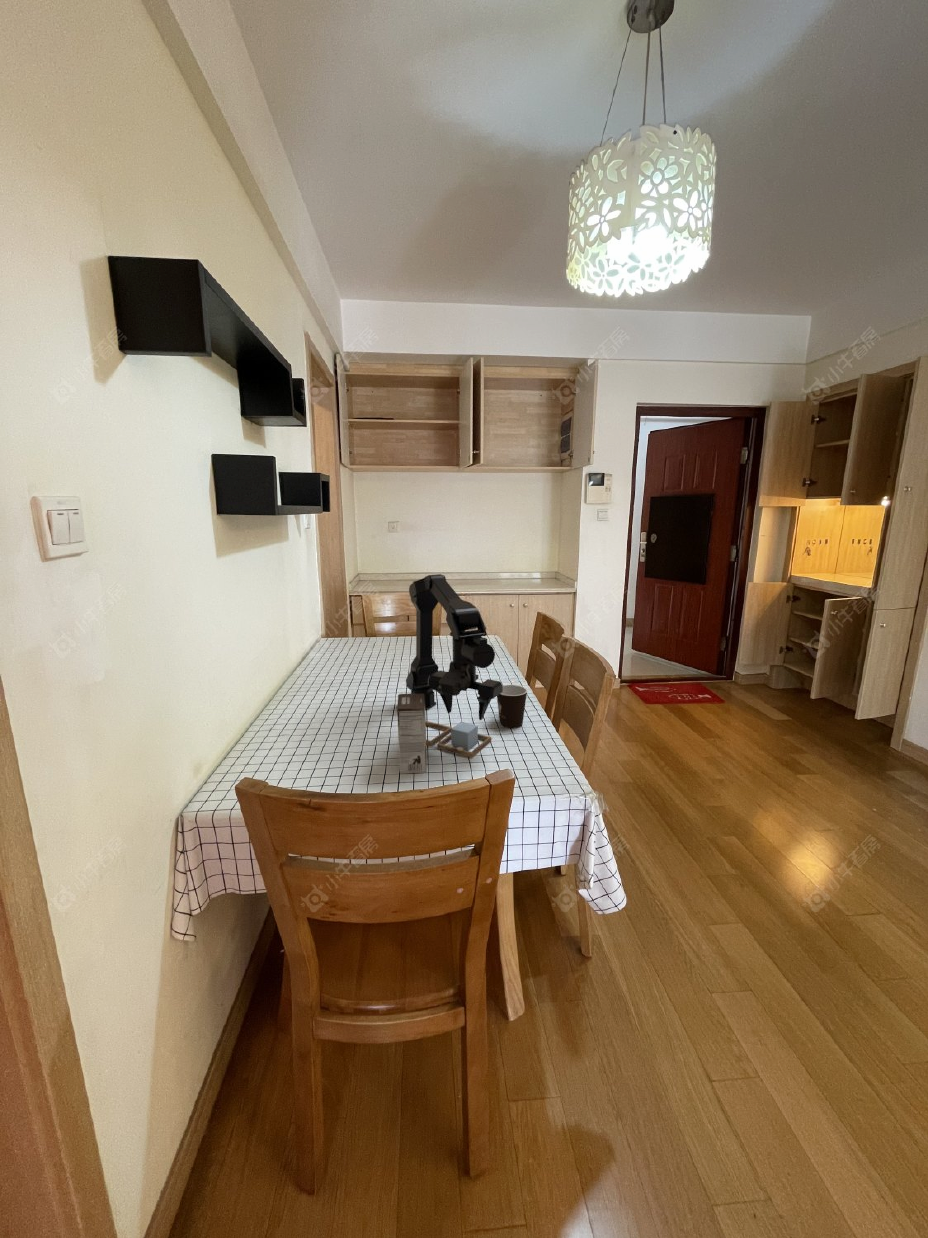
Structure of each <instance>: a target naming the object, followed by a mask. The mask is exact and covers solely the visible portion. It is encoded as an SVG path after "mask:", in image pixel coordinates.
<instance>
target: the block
mask: <svg viewBox="0 0 928 1238" xmlns="http://www.w3.org/2000/svg"><path fill="white" fill-rule="evenodd" d="M450 734H451V740H450V742H451V743H450V744H452V745H453V747H455V748H458V747H463V750H466V751H469V752H470V750H472V749H473V748H474V747H476V746H477V744H479V739H478V734H479V725H477V724H473V723H469V722H465V721H460V722H459V723H457V724H456V725H454V726H452V728H451V733H450Z"/></svg>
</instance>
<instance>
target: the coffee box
mask: <svg viewBox="0 0 928 1238" xmlns="http://www.w3.org/2000/svg"><path fill="white" fill-rule="evenodd" d="M396 707H397V708H396V711H397V734H398V735H397V739H398V741H397V742H398V763H399V773H400V774H417V773H419V774H420V773H421V774H422V773H427V745H426V740H427V726H426V721H427V720H426V718H427V717H426V710H425V696H424V694H411V693H398V695H397V706H396Z"/></svg>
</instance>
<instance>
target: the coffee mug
mask: <svg viewBox="0 0 928 1238" xmlns="http://www.w3.org/2000/svg"><path fill="white" fill-rule="evenodd" d="M502 685H503V692H502V693H500V694H499V695H498V696H496V700H497V701H496V702H497V709H498V719H499V725H500V726H501V727H502V728H505V729H506V728H507V729H518V728H521V727H522V726H523V722H524V716H525V708H526V701H527V694H528V689H527V688H526V687H524V686H522V685H516V684H505V685H504V684H502Z"/></svg>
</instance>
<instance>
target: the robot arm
mask: <svg viewBox="0 0 928 1238" xmlns="http://www.w3.org/2000/svg"><path fill="white" fill-rule="evenodd" d="M408 587H409V588H408V593H409V597H410V601H411V603H412V605H413V607H414V608H415V609H416V611H415V613H416V615H415V616H416V617H415V619H416V620H415V621H416V622H415V625H416V632H415V637H416V639H415V641H416V645H415V654H416V655H415V657H414V659H413V660H412V662H411V664H410V671H409V673H408V675H407V677H406V679H405V684H406V688H407V689H409V690H410V694H424V696H425V711H427V710H429V709H430V708H432V707H434V706H435V705H437V701H435V692H437V693H438V694H439V695H440V698H441V699H442V702H443V705H444V707H445V709H446V712H447V713H448V714H451V712H452V708H453V699H454V698H453V697H456V696H459V695H460V693H461V692H462V691H463V692H466V691H468V689H470V690H474V691H477V695H478V696H477V697H476V699H477V701H478V720H479V721H482V720H483V719H484V716H485V714H486V712H487V709H488V707H489V705H490V702H491V701H492V700H494V699H495V698H497V696H498V695H499V694H500V693H502V692H503V685H504V684H502V682H501V681H500V680H494V679H489V678H488V679H486V680H485V681H483V682H479V681H477V680H479V674H477V668H480V669H486V668H488V667H489V666H491V665H492V664H493V662H494V660H495V658H496V652H495V649H494V648H493V646H492V645H491V644H489V643H488V638H487V637H486V636H487V635H488V634H487V627H486V625H485V622H484V620H483V618H482V615H481V612H480V611H479V609H478V608H477V607H476V606H475V605H474V604H473V603H471V602H470V601H468V600H467V601H466V600H463V599H462V598H461V597H460V596H459V595H458V593H457V592H456V591H455V590H454V588H453V587H452V586H451V585H450V583H448V581H447V578H446V576H445V575H444V574H440V573H439V574H428V575H426V576H424V577H423V578H420V579H418V580H414V581H412V583H411V584H410V585H409V586H408ZM438 604H440V605H441V607H442V609H443V610H444V611H445V613H446V617H445V621H446V623H447V625H448V627H449V628H448V629H449V630H450V633H449V636H450V637H452V642H451V643H452V661H450V662H449V668H448V671H445V670H439V666H438V664H437V663H436V661H435V659H433V630H434V629H433V627H434V626H433V625H434V624H433V623H434V622H433V621H434V619H433V617H434V616H433V615H434V610H435V608H436V607H437V606H438Z"/></svg>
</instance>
